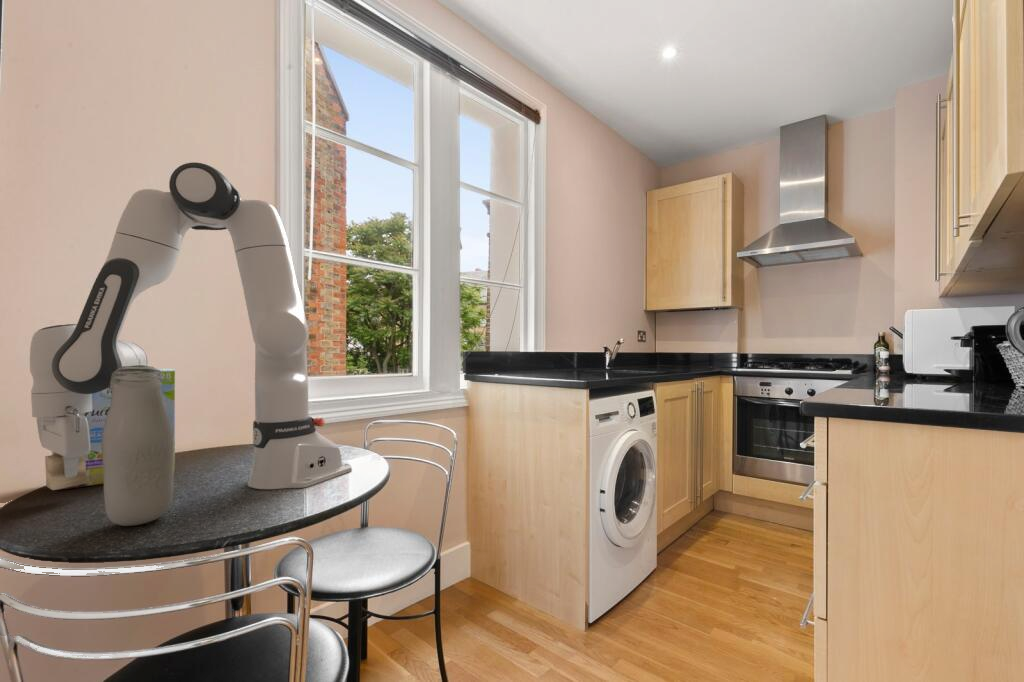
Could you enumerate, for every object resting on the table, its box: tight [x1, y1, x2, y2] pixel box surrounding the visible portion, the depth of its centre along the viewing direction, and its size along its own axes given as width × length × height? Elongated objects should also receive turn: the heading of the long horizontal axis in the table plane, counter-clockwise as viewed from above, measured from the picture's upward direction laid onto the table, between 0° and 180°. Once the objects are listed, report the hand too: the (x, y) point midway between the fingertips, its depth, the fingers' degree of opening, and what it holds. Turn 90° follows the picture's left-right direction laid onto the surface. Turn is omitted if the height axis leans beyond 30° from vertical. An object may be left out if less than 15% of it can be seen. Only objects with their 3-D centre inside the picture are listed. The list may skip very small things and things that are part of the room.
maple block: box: [44, 454, 86, 491], centre depth 96 cm, size 5×5×6 cm
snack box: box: [55, 368, 176, 491], centre depth 112 cm, size 22×9×26 cm, turn 129°
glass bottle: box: [101, 365, 174, 527], centre depth 84 cm, size 10×10×28 cm
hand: (66, 474), depth 96 cm, fingers closed on maple block, 5 cm apart
